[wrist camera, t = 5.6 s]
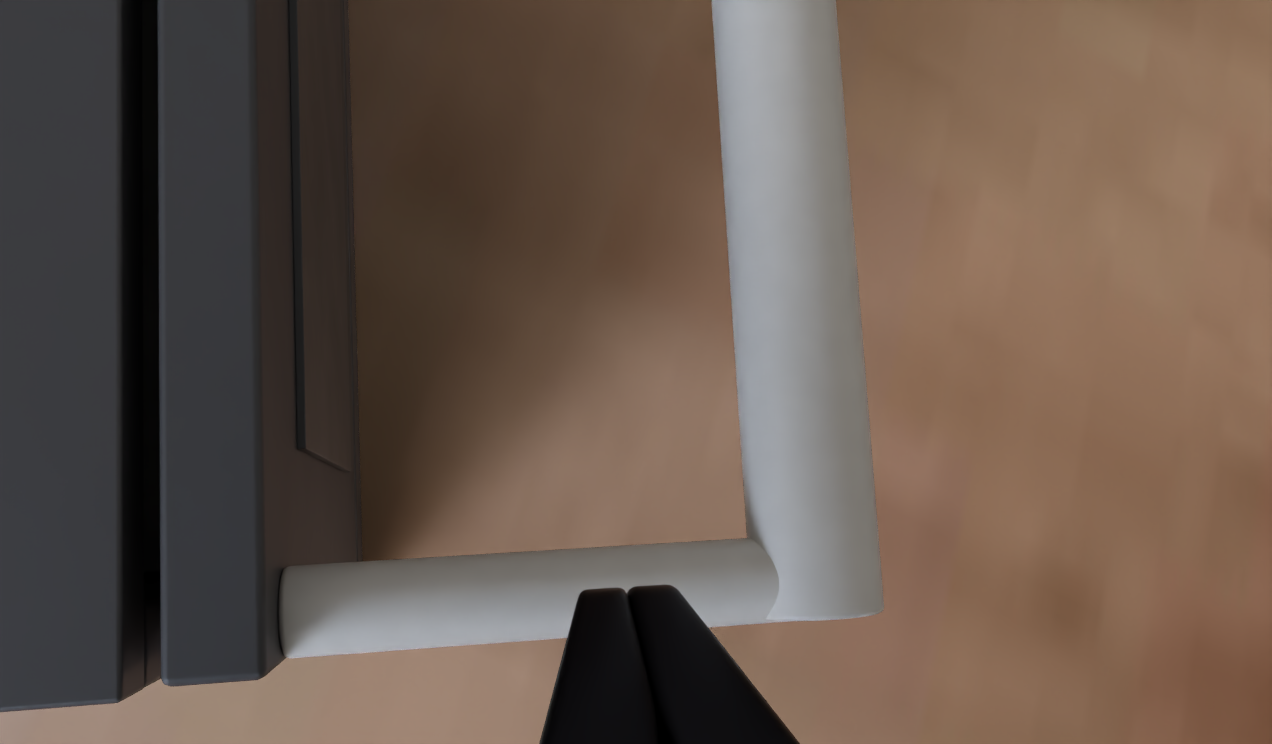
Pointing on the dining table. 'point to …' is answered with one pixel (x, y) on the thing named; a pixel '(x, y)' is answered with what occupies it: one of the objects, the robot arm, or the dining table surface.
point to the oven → (86, 350)
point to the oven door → (322, 363)
